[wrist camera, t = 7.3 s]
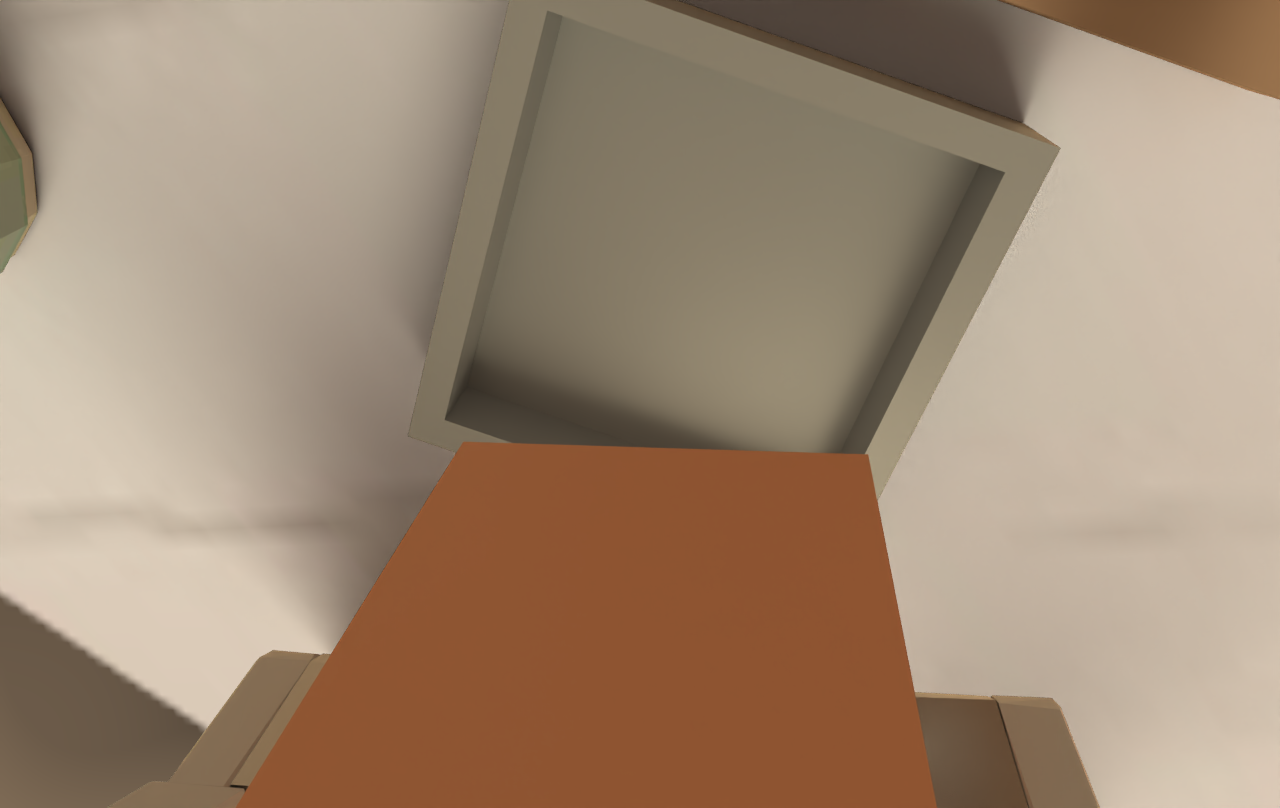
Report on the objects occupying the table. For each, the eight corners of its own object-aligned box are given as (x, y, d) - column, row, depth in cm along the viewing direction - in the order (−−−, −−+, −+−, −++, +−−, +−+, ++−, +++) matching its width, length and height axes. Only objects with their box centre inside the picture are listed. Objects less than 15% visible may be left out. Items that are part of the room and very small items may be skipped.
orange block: (867, 454, 9) (964, 949, 5) (842, 763, 11) (893, 1342, 6) (463, 441, 10) (194, 875, 5) (499, 738, 11) (322, 1259, 7)
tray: (1024, 123, 22) (1060, 148, 19) (828, 518, 27) (835, 580, 24) (550, -45, 22) (519, -45, 19) (443, 387, 27) (407, 436, 24)
